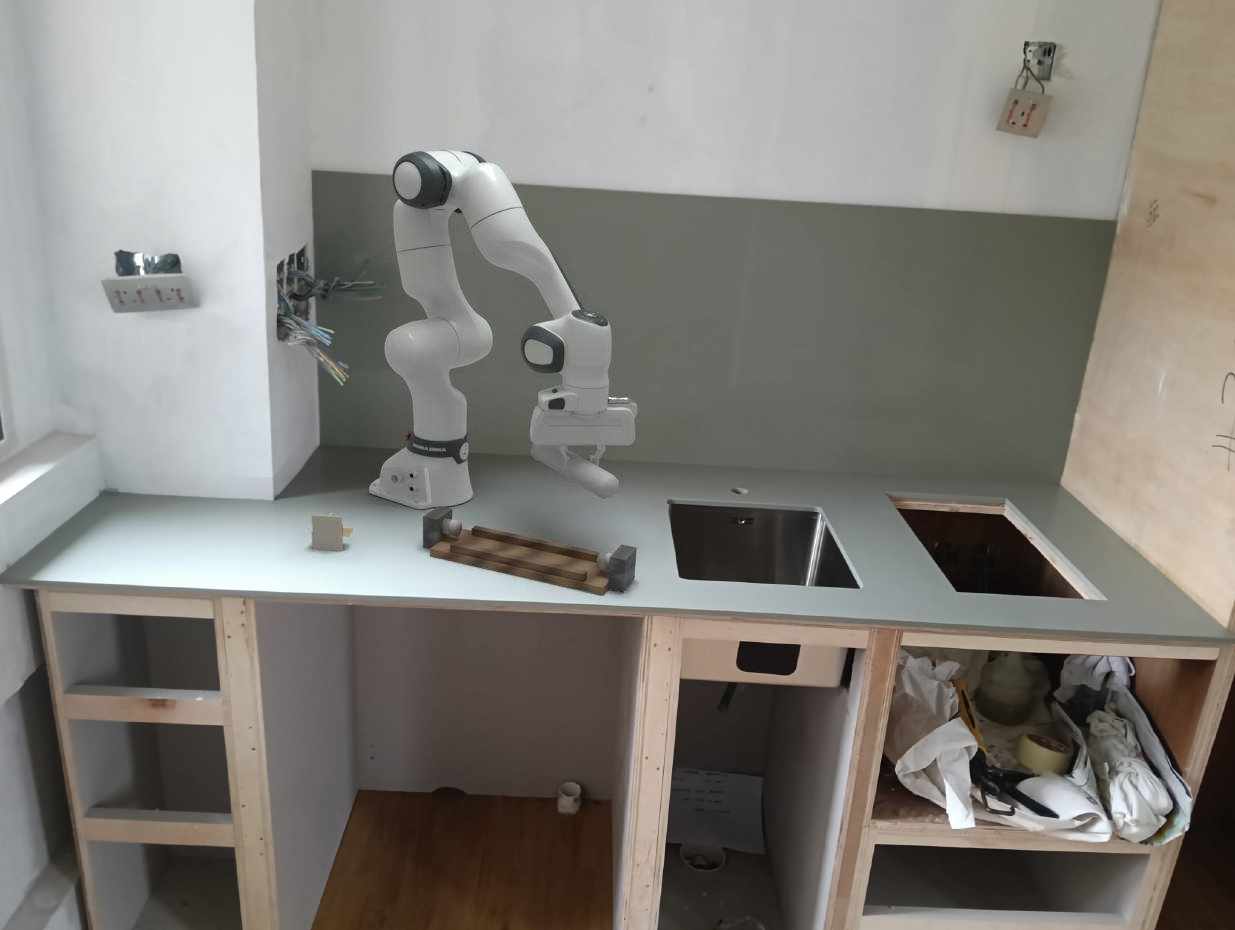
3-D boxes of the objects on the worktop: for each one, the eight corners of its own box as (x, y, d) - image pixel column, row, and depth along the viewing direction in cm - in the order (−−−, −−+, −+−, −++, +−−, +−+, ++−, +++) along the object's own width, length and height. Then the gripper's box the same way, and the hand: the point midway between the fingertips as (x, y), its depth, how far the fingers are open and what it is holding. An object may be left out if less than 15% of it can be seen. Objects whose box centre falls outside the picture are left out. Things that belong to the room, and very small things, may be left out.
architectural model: (317, 543, 190) (315, 508, 187) (353, 546, 190) (352, 510, 188) (312, 551, 187) (310, 515, 184) (349, 553, 187) (347, 517, 184)
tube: (629, 480, 185) (556, 440, 203) (609, 472, 181) (537, 432, 200) (617, 506, 185) (545, 463, 204) (596, 499, 181) (526, 456, 200)
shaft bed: (416, 552, 188) (415, 521, 186) (445, 531, 198) (445, 501, 196) (618, 598, 176) (620, 565, 173) (638, 574, 185) (641, 542, 183)
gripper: (634, 392, 193) (629, 459, 198) (530, 391, 189) (527, 459, 193) (642, 402, 187) (636, 470, 192) (534, 401, 183) (531, 471, 188)
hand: (580, 465), depth 193 cm, fingers closed on tube, 4 cm apart
